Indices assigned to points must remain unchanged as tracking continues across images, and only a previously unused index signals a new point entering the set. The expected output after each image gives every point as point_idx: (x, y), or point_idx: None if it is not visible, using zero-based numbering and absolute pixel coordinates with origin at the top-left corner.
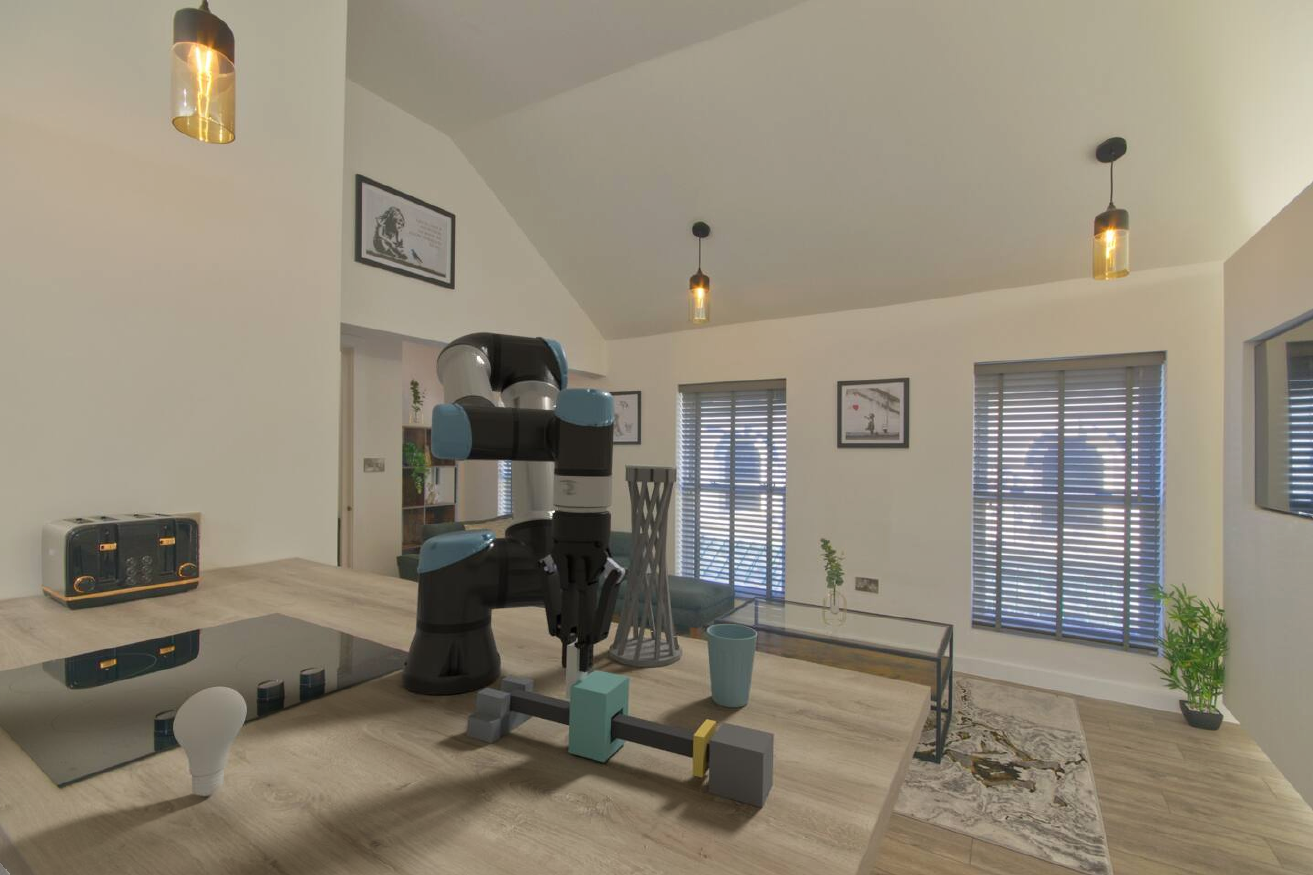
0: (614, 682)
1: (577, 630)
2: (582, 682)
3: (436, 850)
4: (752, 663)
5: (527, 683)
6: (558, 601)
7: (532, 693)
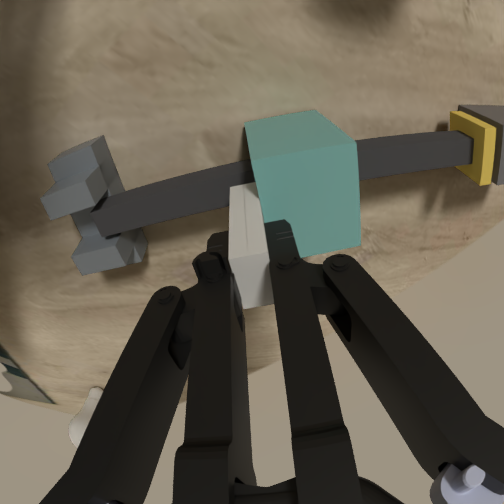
0: (344, 191)
1: (232, 291)
2: None
3: (278, 349)
4: None
5: (92, 198)
6: (157, 398)
7: (126, 205)
